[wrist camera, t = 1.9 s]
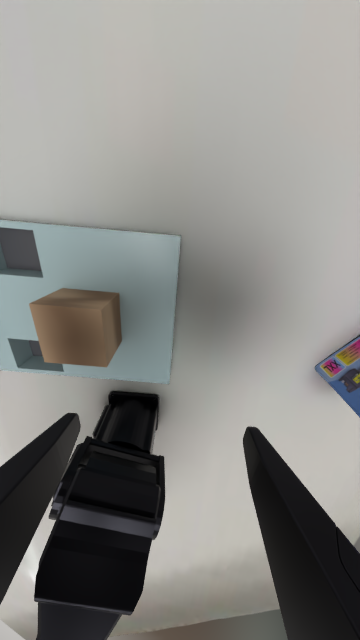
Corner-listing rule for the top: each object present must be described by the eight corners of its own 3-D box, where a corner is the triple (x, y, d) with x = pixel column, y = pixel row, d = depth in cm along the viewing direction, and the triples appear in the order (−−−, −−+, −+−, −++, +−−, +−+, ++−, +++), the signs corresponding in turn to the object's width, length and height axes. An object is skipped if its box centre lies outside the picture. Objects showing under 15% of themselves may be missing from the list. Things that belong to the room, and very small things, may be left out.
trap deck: (181, 235, 17) (179, 237, 12) (170, 369, 24) (166, 406, 19) (-74, 212, 17) (-182, 205, 12) (-15, 353, 23) (-70, 387, 18)
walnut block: (119, 292, 17) (101, 309, 13) (121, 341, 19) (106, 367, 15) (62, 288, 17) (28, 303, 13) (71, 337, 19) (44, 362, 15)
